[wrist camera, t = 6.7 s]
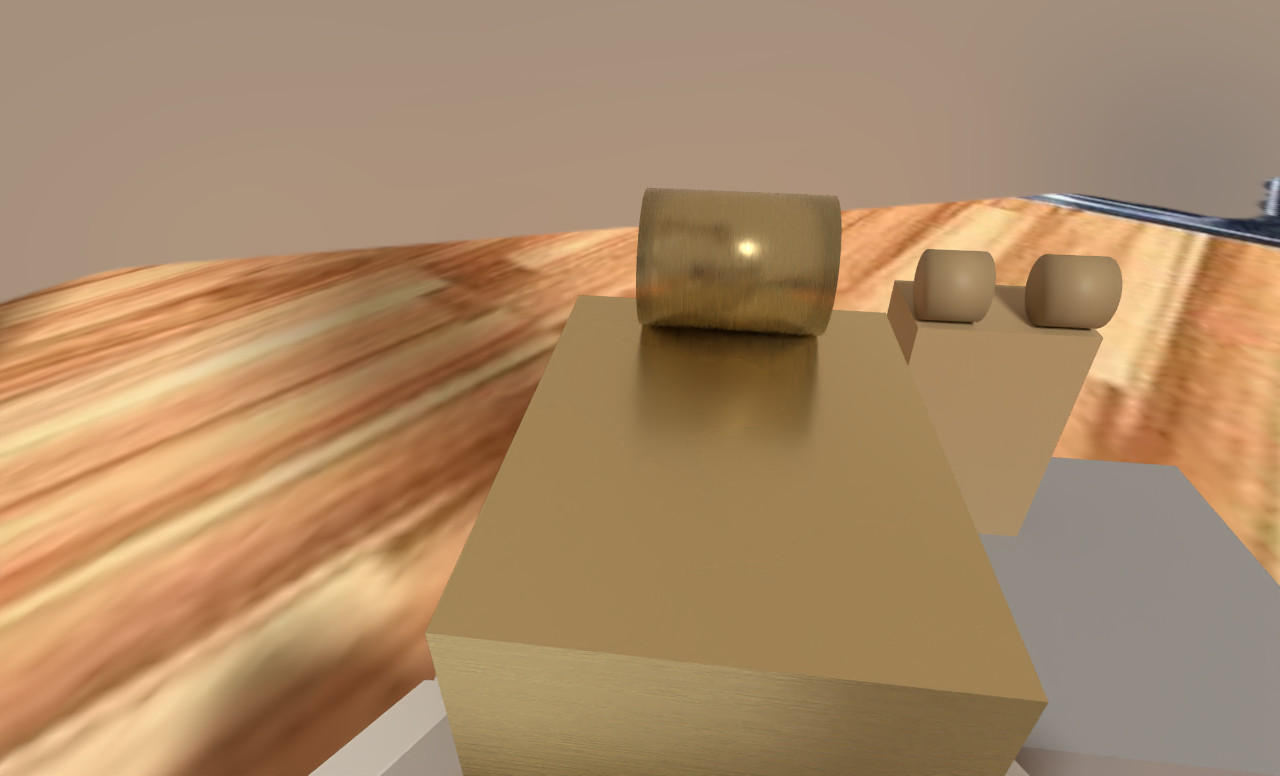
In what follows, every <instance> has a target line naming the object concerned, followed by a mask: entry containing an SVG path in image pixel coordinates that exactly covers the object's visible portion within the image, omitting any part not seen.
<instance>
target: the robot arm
mask: <svg viewBox="0 0 1280 776" xmlns="http://www.w3.org/2000/svg"><path fill="white" fill-rule="evenodd" d="M308 776H463V773H462V769H461V766H460V762H459V758H458V754H457V751H456V747H455V743H454V739H453V736H452V732H451V728H450V725H449V721H448V717H447V713H446V710H445V706H444V702H443V699H442V695H441V691H440V687H439V684H438V680H437V676H435V678H434V680H427V679H425V680H423V681H422V682H421V683H420V684H418V685H417V686H416V687H415V688H414V689H412V690H411V691H410V692H409V693H408V694H406V695H405V696H404V697H403V698H402V699H400V700H399V701H398V702H397V703H395V704H394V705H393V706H392V707H391V708H389V709H388V710H387V711H386V712H385V713H383V714H382V715H381V716H380V717H379V718H377V719H376V720H375V721H374V722H372V723H371V724H370V725H369V726H368V727H366V728H365V729H364V730H363V731H362V732H360V733H359V734H358V735H357V736H356V737H354V738H353V739H352V740H351V741H349V742H348V743H347V744H346V745H345V746H343V747H342V748H341V749H340V750H339V751H337V752H336V753H335V754H334V755H332V756H331V757H330V758H329V759H328V760H326V761H325V762H324V763H323V764H322V765H320V766H319V767H318V768H317V769H316V770H314V771H313V772H312V773H311V774H309V775H308ZM1005 776H1029V775H1028V774H1027V773H1026V771H1025V770H1024V769H1023V768H1022V767H1021V766H1020V765H1019V764H1018V763H1017V762H1016V761H1015V760H1014V761H1013V763H1012V764H1011V766H1010V768H1009V769H1008V771H1007V773H1006V774H1005Z"/></svg>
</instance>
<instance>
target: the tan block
mask: <svg viewBox="0 0 1280 776" xmlns="http://www.w3.org/2000/svg"><path fill="white" fill-rule="evenodd" d="M840 253H841V210H840V204H839V200H838V198H837V196H830V195H808V194H807V195H806V194H783V193H761V192H737V191H713V190H691V189H667V188H646V190H645V193H644V197H643V202H642V208H641V215H640V224H639V234H638V248H637V268H636V298H622V297H605V296H588V295H579V296H578V299H577V301H576V303H575V305H574V307H573V310H572V312H571V314H570V316H569V318H568V321H567V323H566V325H565V327H564V329H563V332H562V334H561V336H560V338H559V340H558V342H557V345H556V347H555V349H554V351H553V353H552V356H551V358H550V360H549V362H548V364H547V367H546V369H545V371H544V373H543V375H542V378H541V380H540V382H539V384H538V386H537V388H536V391H535V393H534V395H533V397H532V399H531V402H530V404H529V406H528V408H527V410H526V413H525V415H524V417H523V419H522V421H521V424H520V426H519V428H518V430H517V432H516V434H515V437H514V439H513V441H512V443H511V445H510V448H509V450H508V452H507V454H506V456H505V459H504V461H503V463H502V465H501V467H500V470H499V472H498V474H497V476H496V478H495V480H494V483H493V485H492V487H491V489H490V491H489V494H488V496H487V498H486V500H485V502H484V505H483V507H482V509H481V511H480V513H479V516H478V518H477V520H476V522H475V524H474V526H473V529H472V531H471V533H470V535H469V537H468V540H467V542H466V544H465V546H464V548H463V551H462V553H461V555H460V557H459V559H458V562H457V564H456V566H455V568H454V570H453V572H452V575H451V577H450V579H449V581H448V583H447V586H446V588H445V590H444V592H443V594H442V597H441V599H440V601H439V603H438V605H437V608H436V610H435V612H434V614H433V616H432V618H431V621H430V623H429V625H428V627H427V629H426V632H425V635H426V639H427V643H428V646H429V650H430V654H431V658H432V661H433V665H434V669H435V672H436V676H437V680H438V684H439V687H440V691H441V695H442V699H443V702H444V706H445V710H446V713H447V717H448V721H449V725H450V728H451V732H452V736H453V739H454V743H455V747H456V751H457V754H458V758H459V762H460V766H461V769H462V773H463V776H1005V774H1006V773H1007V771H1008V769H1009V768H1010V766H1011V764H1012V763H1013V761H1014V759H1015V758H1016V756H1017V754H1018V753H1019V751H1020V749H1021V748H1022V746H1023V744H1024V743H1025V741H1026V739H1027V738H1028V736H1029V734H1030V733H1031V731H1032V729H1033V728H1034V726H1035V724H1036V723H1037V721H1038V719H1039V718H1040V716H1041V714H1042V713H1043V711H1044V709H1045V707H1046V706H1047V704H1048V699H1047V697H1046V694H1045V692H1044V690H1043V687H1042V685H1041V682H1040V680H1039V678H1038V675H1037V673H1036V671H1035V668H1034V666H1033V663H1032V661H1031V659H1030V656H1029V654H1028V651H1027V649H1026V647H1025V644H1024V642H1023V639H1022V637H1021V635H1020V632H1019V630H1018V628H1017V625H1016V623H1015V620H1014V618H1013V616H1012V613H1011V611H1010V608H1009V606H1008V604H1007V601H1006V599H1005V597H1004V594H1003V592H1002V589H1001V587H1000V585H999V582H998V580H997V577H996V575H995V573H994V570H993V568H992V565H991V563H990V561H989V558H988V556H987V554H986V551H985V549H984V546H983V544H982V542H981V539H980V537H979V534H978V532H977V530H976V527H975V525H974V523H973V520H972V518H971V515H970V513H969V511H968V508H967V506H966V503H965V501H964V499H963V496H962V494H961V491H960V489H959V487H958V484H957V482H956V480H955V477H954V475H953V472H952V470H951V468H950V465H949V463H948V460H947V458H946V456H945V453H944V451H943V449H942V446H941V444H940V441H939V439H938V437H937V434H936V432H935V429H934V427H933V425H932V422H931V420H930V417H929V415H928V413H927V410H926V408H925V406H924V403H923V401H922V398H921V396H920V394H919V391H918V389H917V386H916V384H915V382H914V379H913V377H912V375H911V372H910V370H909V367H908V365H907V363H906V360H905V358H904V355H903V353H902V351H901V348H900V346H899V343H898V341H897V339H896V336H895V334H894V332H893V329H892V327H891V324H890V322H889V320H888V317H887V315H886V313H877V312H860V311H843V310H832V309H833V304H834V299H835V294H836V288H837V281H838V273H839V264H840Z"/></svg>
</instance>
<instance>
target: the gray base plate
mask: <svg viewBox="0 0 1280 776" xmlns="http://www.w3.org/2000/svg"><path fill="white" fill-rule="evenodd" d="M995 280H996V273H995V264H994V260H993V258H992V256H991V254H990V253H988V252H982V251H958V250H934V249H927V250H926V251H925V252H924V253H923V254H922V256H921V258H920V260H919V263H918V266H917V269H916V273H915V279H914V281H898V280H895V282H894V286H893V291H892V295H891V300H890V304H889V308H888V313H887V317H888V320H889V322H890V324H891V327H892V329H893V332H894V334H895V336H896V339H897V341H898V343H899V346H900V348H901V351H902V353H903V355H904V358H905V360H906V363H907V365H908V367H909V370H910V372H911V375H912V377H913V379H914V382H915V384H916V386H917V389H918V391H919V394H920V396H921V398H922V401H923V403H924V406H925V408H926V410H927V413H928V415H929V417H930V420H931V422H932V425H933V427H934V429H935V432H936V434H937V437H938V439H939V441H940V444H941V446H942V449H943V451H944V453H945V456H946V458H947V460H948V463H949V465H950V468H951V470H952V472H953V475H954V477H955V480H956V482H957V484H958V487H959V489H960V491H961V494H962V496H963V499H964V501H965V503H966V506H967V508H968V511H969V513H970V515H971V518H972V520H973V523H974V525H975V527H976V530H977V532H978V534H979V537H980V539H981V542H982V544H983V546H984V549H985V551H986V554H987V556H988V558H989V561H990V563H991V565H992V568H993V570H994V573H995V575H996V577H997V580H998V582H999V585H1000V587H1001V589H1002V592H1003V594H1004V597H1005V599H1006V601H1007V604H1008V606H1009V608H1010V611H1011V613H1012V616H1013V618H1014V620H1015V623H1016V625H1017V628H1018V630H1019V632H1020V635H1021V637H1022V639H1023V642H1024V644H1025V647H1026V649H1027V651H1028V654H1029V656H1030V659H1031V661H1032V663H1033V666H1034V668H1035V671H1036V673H1037V675H1038V678H1039V680H1040V682H1041V685H1042V687H1043V690H1044V692H1045V694H1046V697H1047V699H1048V704H1047V706H1046V707H1045V709H1044V711H1043V713H1042V714H1041V716H1040V718H1039V719H1038V721H1037V723H1036V724H1035V726H1034V728H1033V729H1032V731H1031V733H1030V734H1029V736H1028V738H1027V739H1026V741H1025V743H1024V744H1023V746H1022V748H1021V749H1020V751H1019V753H1018V754H1017V756H1016V758H1015V759H1014V760H1015V761H1016V762H1017V763H1018V764H1019V765H1020V766H1021V767H1022V768H1023V769H1024V770H1025V771H1026V773H1027V774H1028V775H1029V776H1280V586H1279V585H1278V584H1277V583H1276V581H1275V580H1274V579H1273V578H1272V577H1271V576H1270V574H1269V573H1268V572H1267V571H1266V570H1265V569H1264V567H1263V566H1262V565H1261V564H1260V563H1259V562H1258V561H1257V559H1256V558H1255V557H1254V556H1253V555H1252V554H1251V552H1250V551H1249V550H1248V549H1247V548H1246V547H1245V545H1244V544H1243V543H1242V542H1241V541H1240V540H1239V538H1238V537H1237V536H1236V535H1235V534H1234V533H1233V532H1232V530H1231V529H1230V528H1229V527H1228V526H1227V525H1226V523H1225V522H1224V521H1223V520H1222V519H1221V518H1220V516H1219V515H1218V514H1217V513H1216V512H1215V511H1214V509H1213V508H1212V507H1211V506H1210V505H1209V504H1208V502H1207V501H1206V500H1205V499H1204V498H1203V497H1202V496H1201V494H1200V493H1199V492H1198V491H1197V490H1196V489H1195V487H1194V486H1193V485H1192V484H1191V483H1190V482H1189V480H1188V479H1187V478H1186V477H1185V476H1184V475H1183V473H1182V472H1181V471H1180V470H1179V469H1178V468H1177V467H1176V466H1168V465H1154V464H1140V463H1126V462H1112V461H1098V460H1083V459H1069V458H1055V457H1052V455H1053V452H1054V450H1055V448H1056V446H1057V443H1058V441H1059V439H1060V436H1061V434H1062V432H1063V429H1064V427H1065V425H1066V422H1067V420H1068V418H1069V416H1070V413H1071V411H1072V409H1073V406H1074V404H1075V402H1076V399H1077V397H1078V395H1079V393H1080V390H1081V388H1082V386H1083V383H1084V381H1085V379H1086V376H1087V374H1088V372H1089V370H1090V367H1091V365H1092V363H1093V360H1094V358H1095V356H1096V353H1097V351H1098V349H1099V347H1100V344H1101V342H1102V340H1103V337H1102V336H1101V335H1100V334H1099V333H1098V332H1097V331H1096V330H1095V329H1097V328H1101V327H1103V326H1104V325H1106V324H1107V323H1108V322H1109V321H1110V320H1111V318H1112V317H1113V315H1114V314H1115V312H1116V310H1117V307H1118V305H1119V302H1120V298H1121V293H1122V275H1121V271H1120V268H1119V266H1118V264H1117V262H1116V261H1115V260H1114V259H1112V258H1110V257H1100V256H1076V255H1053V254H1046V255H1043V256H1041V257H1040V258H1039V259H1038V260H1037V261H1036V262H1035V264H1034V265H1033V267H1032V269H1031V271H1030V274H1029V277H1028V280H1027V284H1026V286H1005V285H995Z"/></svg>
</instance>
